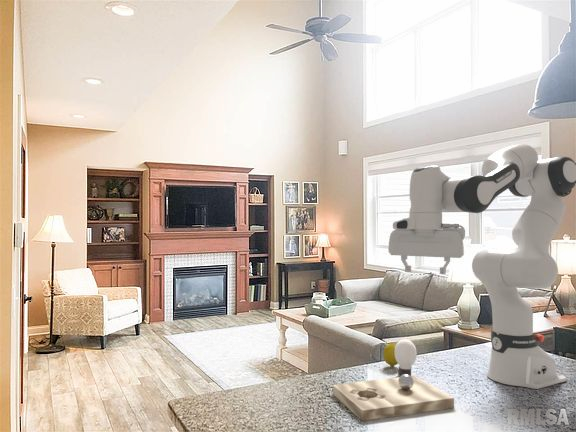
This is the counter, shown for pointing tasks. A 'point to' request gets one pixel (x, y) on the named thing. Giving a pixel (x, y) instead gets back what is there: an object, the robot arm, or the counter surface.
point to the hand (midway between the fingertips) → (425, 272)
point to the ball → (405, 381)
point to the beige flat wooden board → (391, 398)
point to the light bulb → (405, 356)
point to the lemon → (390, 354)
